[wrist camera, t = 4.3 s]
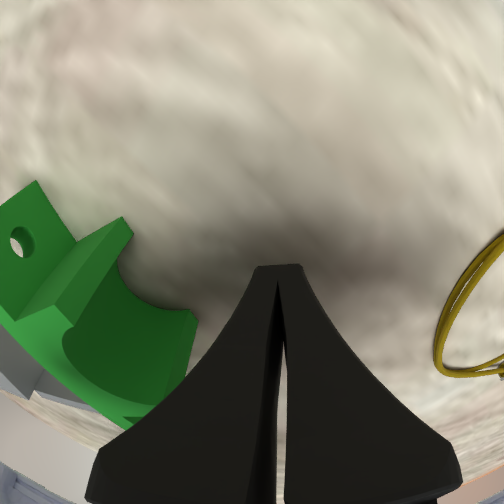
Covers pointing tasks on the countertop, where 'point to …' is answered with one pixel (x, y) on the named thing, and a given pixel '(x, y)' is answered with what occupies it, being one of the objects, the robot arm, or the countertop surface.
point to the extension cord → (447, 319)
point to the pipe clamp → (87, 312)
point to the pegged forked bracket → (31, 375)
